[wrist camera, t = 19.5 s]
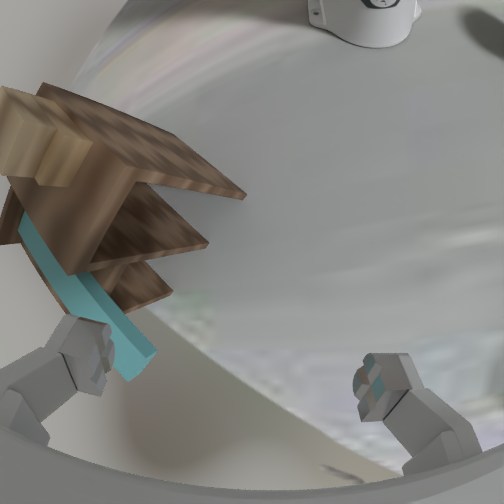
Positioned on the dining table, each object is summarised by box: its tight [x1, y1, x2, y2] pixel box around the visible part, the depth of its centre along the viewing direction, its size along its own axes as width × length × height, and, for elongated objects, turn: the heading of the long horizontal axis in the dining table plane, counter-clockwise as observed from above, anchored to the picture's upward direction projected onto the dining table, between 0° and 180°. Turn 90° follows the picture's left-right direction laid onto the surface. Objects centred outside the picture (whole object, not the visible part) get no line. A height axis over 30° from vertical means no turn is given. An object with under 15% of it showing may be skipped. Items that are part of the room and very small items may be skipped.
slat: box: [18, 211, 158, 381], centre depth 28 cm, size 22×4×2 cm, turn 50°
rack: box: [0, 82, 247, 315], centre depth 32 cm, size 16×20×32 cm
